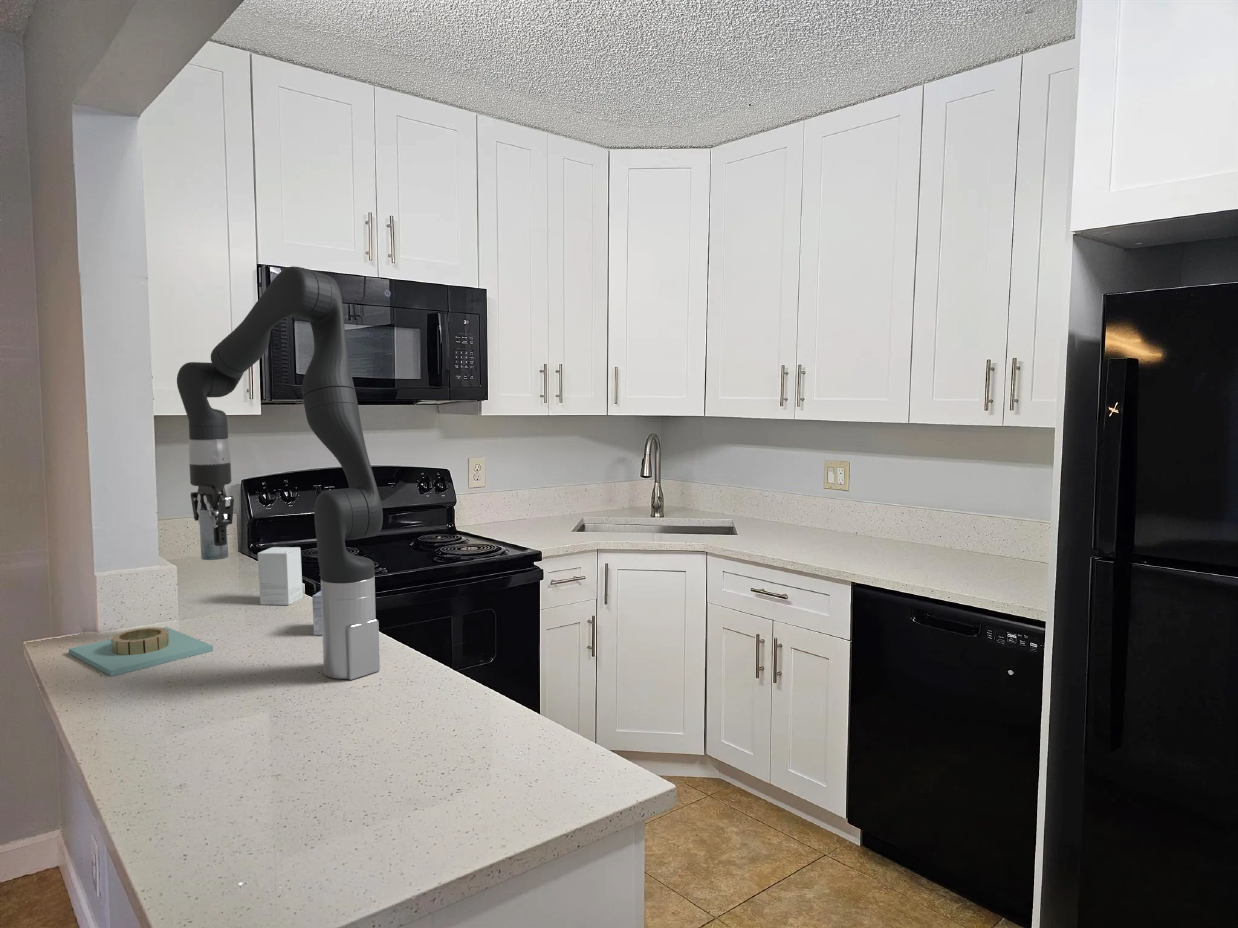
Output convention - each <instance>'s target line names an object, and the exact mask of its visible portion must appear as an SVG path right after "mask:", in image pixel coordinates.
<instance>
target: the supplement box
mask: <svg viewBox="0 0 1238 928" xmlns="http://www.w3.org/2000/svg"><path fill="white" fill-rule="evenodd" d="M257 562H258V563H257V564H258V584H259V585H258V586H259V587H258V588H259V601H260V605H262V606H263V605H266V606H267V605H270V606H271V605H272V606H274V605H275V606H276V605H277V606H290V605H291V604H294V603H296V602H298V601H299V600H302V599H303V593H304V592H303V576H302V574H303V573H302V552H301V547H299V546H294V547H292V546H291V547H290V546H282V547H281V546H273V547H269V548H267V549H265V550H261V551H260V552H257Z"/></svg>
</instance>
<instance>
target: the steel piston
mask: <svg viewBox="0 0 1238 928" xmlns="http://www.w3.org/2000/svg"><path fill="white" fill-rule="evenodd" d="M214 512H218V510H215V511H214ZM198 514H199V523H200V525H199V538H200V539H199V540H200V559H201V560H203V561H217V560H223V559H227V558H229V542H228V541H229V540H228V537H227V544H226V545H222V546H216V545H215V544H214V526H213V521H212V518H211V517H209V515H208V510H205V509H201V510H199V513H198ZM217 520H218V516H217ZM199 523H198V524H199ZM226 535H227V536H228V526H226Z"/></svg>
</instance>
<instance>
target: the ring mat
mask: <svg viewBox="0 0 1238 928" xmlns="http://www.w3.org/2000/svg"><path fill="white" fill-rule="evenodd" d="M164 628H165V629H167V630H169V644H168V646H167V647H165V648H163V649H160V650H158V651H153V652H149V653H144V654H136V655H118V654H115V653H113V652H112V644H111V639H106V640H102V641H97V642H92V643H88V644H83V645H79V646H73V647H69V648H68V654H69V655H70V656H73V657H75V658H76V659H78V660H81V661H82V662H83V663H86V664H88V665H90V666H91V667H93V668H95V669H97V670H99V671H101V672H103V673H104V674H106V675H108V676H110V677H114V676H118V675H121V674H125V673H129V672H133V671H137V670H140V669H145V668H148V667H153V666H158V665H161V664H165V663H169V662H172V661H177V660H181V659H186V658H188V657H194V656H196V655H202V654H205V653H209V652H212V651H214V649H213V648H214V646H213V645H212V644H209V643H207V642H204V641H202V640H200V639H198V638H195V637H193V636H190V635H187V634H185V633H184V632H183V633H182V632H180V631H178V630H176V629H173V628H170V627H168V626H166V627H165V626H164Z"/></svg>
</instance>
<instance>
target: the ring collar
mask: <svg viewBox="0 0 1238 928" xmlns="http://www.w3.org/2000/svg"><path fill="white" fill-rule="evenodd" d="M111 644H112V652H113V653H115V654H118V655H136V654H144V653H149V652H153V651H158V650H160V649H163V648H165V647H167V646H168V644H169V630H167V629H165V627H159V626H158V627H157V626H156V627H155V626H154V627H150V626H149V627H140V628H134V629H128V630H125V631H121V632H119V633H116V634H114V635H113V636H112V637H111Z"/></svg>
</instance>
